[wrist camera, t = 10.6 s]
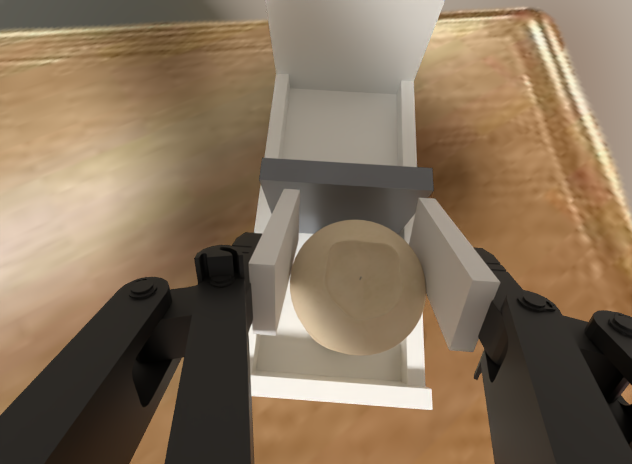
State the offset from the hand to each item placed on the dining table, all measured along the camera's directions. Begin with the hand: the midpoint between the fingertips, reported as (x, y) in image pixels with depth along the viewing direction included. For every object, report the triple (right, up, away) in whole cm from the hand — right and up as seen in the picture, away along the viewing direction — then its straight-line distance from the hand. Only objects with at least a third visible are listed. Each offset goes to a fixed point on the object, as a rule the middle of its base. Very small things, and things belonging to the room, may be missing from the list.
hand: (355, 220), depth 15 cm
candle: (0, -6, +6) cm, 8 cm away
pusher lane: (0, +1, +9) cm, 9 cm away
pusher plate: (0, 0, +7) cm, 7 cm away
